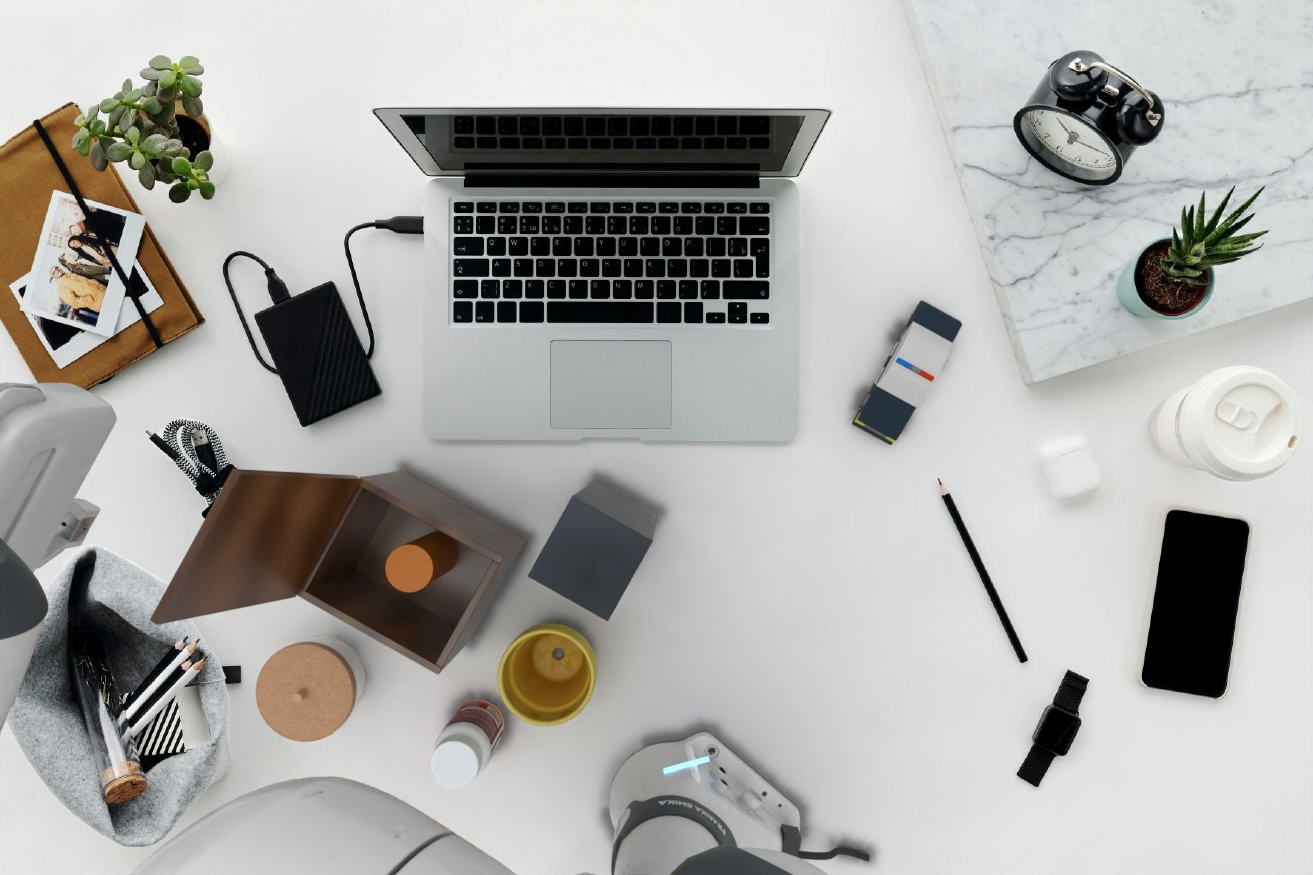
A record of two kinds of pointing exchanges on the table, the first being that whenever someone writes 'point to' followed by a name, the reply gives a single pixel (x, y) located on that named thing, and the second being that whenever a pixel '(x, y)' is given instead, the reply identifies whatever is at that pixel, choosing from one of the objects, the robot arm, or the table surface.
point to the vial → (421, 561)
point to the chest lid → (256, 542)
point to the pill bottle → (466, 744)
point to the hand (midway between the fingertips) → (83, 521)
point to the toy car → (908, 373)
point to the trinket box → (310, 688)
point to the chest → (441, 610)
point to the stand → (596, 548)
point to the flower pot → (547, 675)
